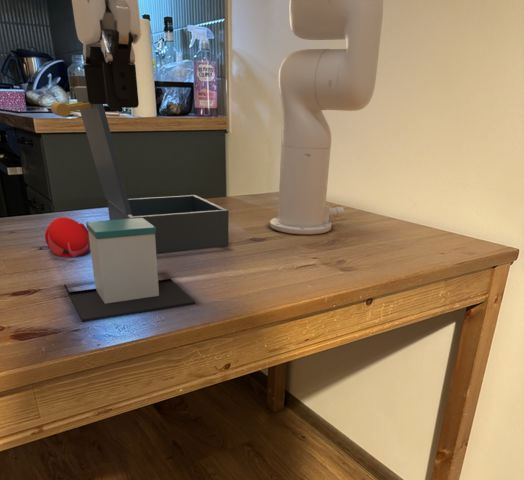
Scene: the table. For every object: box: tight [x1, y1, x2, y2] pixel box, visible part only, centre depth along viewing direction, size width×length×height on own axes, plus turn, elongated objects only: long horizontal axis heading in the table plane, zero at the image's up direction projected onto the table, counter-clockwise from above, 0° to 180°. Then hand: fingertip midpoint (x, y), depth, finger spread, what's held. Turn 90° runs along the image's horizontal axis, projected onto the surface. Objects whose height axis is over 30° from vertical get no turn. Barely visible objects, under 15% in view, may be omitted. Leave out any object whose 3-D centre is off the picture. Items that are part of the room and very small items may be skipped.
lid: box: [50, 86, 132, 215], centre depth 76 cm, size 17×15×6 cm
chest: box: [106, 194, 229, 255], centre depth 87 cm, size 17×15×7 cm
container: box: [85, 218, 159, 304], centre depth 64 cm, size 7×6×9 cm
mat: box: [63, 278, 196, 323], centre depth 66 cm, size 14×13×1 cm
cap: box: [44, 216, 91, 258], centre depth 79 cm, size 8×6×6 cm
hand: (112, 105), depth 56 cm, fingers open, 9 cm apart
